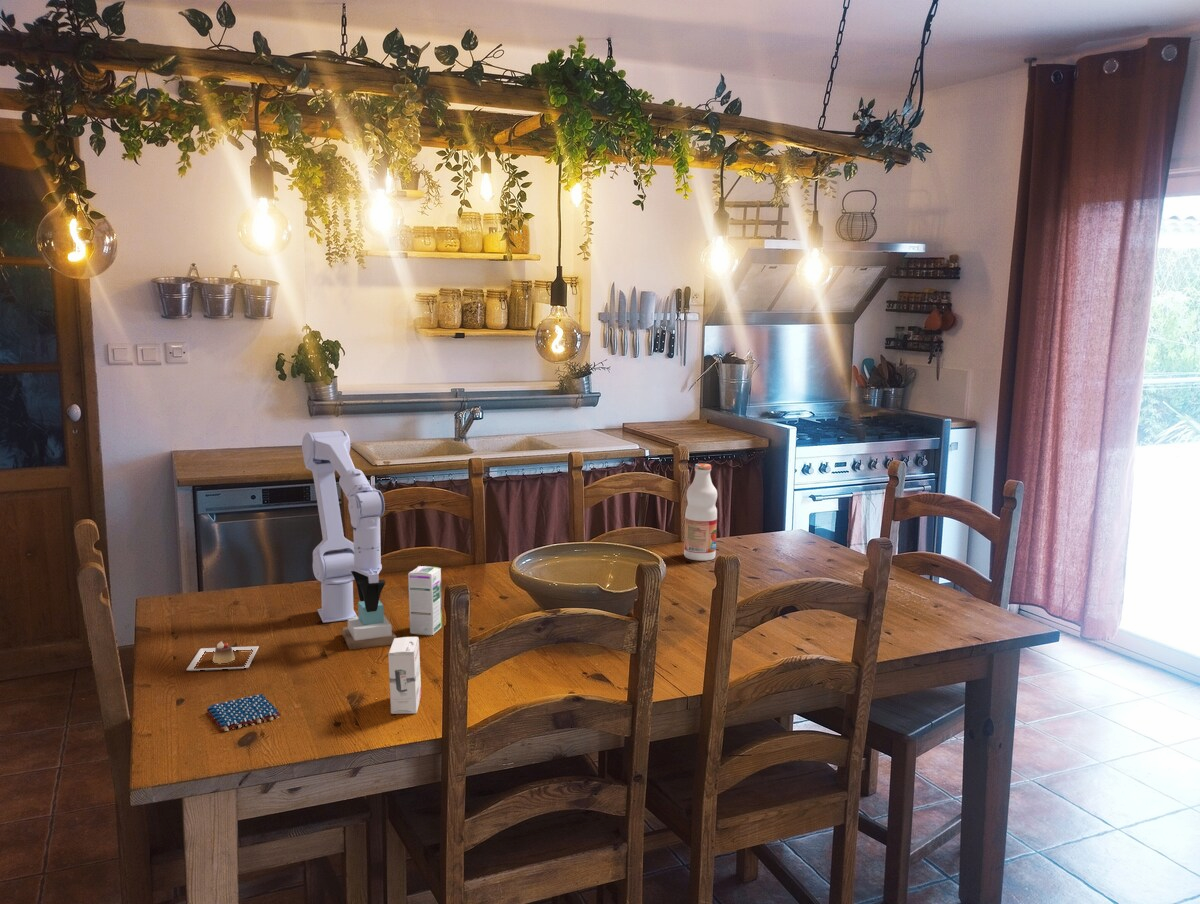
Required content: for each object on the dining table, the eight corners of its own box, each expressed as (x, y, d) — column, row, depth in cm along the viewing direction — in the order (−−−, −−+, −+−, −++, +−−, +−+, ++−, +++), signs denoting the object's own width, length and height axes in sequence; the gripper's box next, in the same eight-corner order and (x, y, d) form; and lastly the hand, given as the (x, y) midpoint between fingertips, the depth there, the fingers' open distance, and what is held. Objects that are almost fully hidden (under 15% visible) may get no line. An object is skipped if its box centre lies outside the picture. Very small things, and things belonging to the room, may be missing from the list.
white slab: (347, 628, 213) (347, 618, 213) (383, 624, 217) (383, 613, 216) (354, 640, 206) (354, 629, 206) (391, 635, 210) (391, 625, 209)
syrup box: (433, 636, 215) (432, 573, 213) (408, 633, 216) (407, 571, 214) (442, 627, 220) (442, 566, 218) (418, 625, 222) (417, 565, 219)
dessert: (259, 650, 205) (258, 629, 205) (248, 672, 194) (247, 650, 193) (200, 653, 203) (199, 631, 203) (186, 675, 192) (185, 652, 191)
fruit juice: (679, 553, 289) (683, 462, 284) (709, 552, 291) (713, 461, 286) (689, 561, 280) (692, 467, 275) (719, 560, 282) (723, 467, 277)
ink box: (394, 695, 183) (393, 636, 181) (421, 695, 183) (420, 635, 181) (388, 715, 174) (387, 652, 172) (416, 714, 175) (416, 652, 173)
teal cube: (358, 619, 212) (358, 601, 212) (378, 616, 215) (378, 599, 214) (363, 625, 209) (362, 607, 208) (383, 622, 211) (383, 605, 210)
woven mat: (283, 721, 172) (282, 710, 172) (222, 736, 166) (221, 725, 165) (264, 701, 180) (264, 691, 180) (205, 714, 174) (205, 704, 174)
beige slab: (342, 637, 215) (342, 627, 214) (387, 632, 219) (387, 621, 218) (349, 653, 206) (349, 642, 205) (396, 647, 210) (396, 636, 209)
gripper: (343, 539, 214) (344, 598, 216) (354, 556, 201) (355, 618, 203) (374, 537, 216) (376, 594, 219) (387, 553, 203) (388, 614, 206)
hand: (368, 605), depth 211 cm, fingers open, 7 cm apart
